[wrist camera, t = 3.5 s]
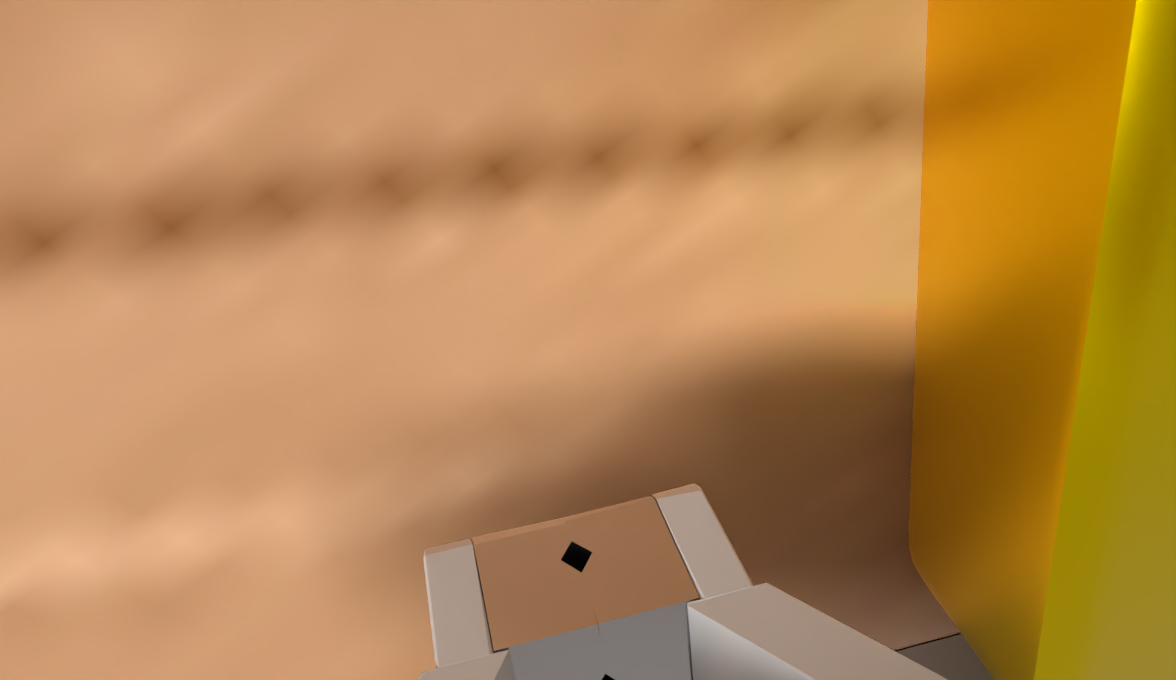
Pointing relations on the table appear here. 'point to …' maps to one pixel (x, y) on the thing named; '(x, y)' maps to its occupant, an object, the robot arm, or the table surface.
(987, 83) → the element tile
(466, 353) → the table surface
